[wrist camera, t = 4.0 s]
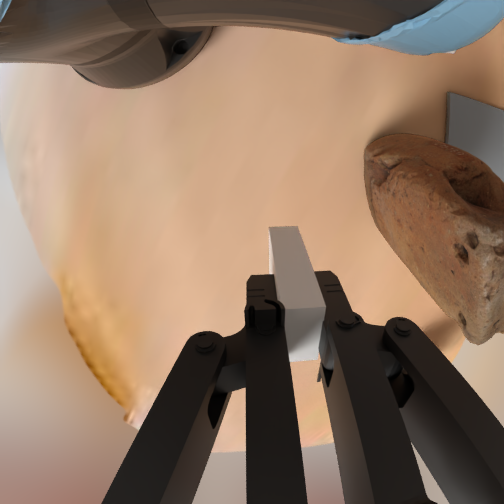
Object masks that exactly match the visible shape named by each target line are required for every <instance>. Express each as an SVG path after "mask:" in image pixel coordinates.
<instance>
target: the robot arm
mask: <svg viewBox="0 0 504 504" xmlns="http://www.w3.org/2000/svg"><path fill="white" fill-rule="evenodd" d="M503 18H504V0H0V63H50V64H65V65H70V66H72V67H73V69H74V70H75V71H76V72H77V73H78V74H79V75H80V76H81V77H83V78H84V79H85V80H87V81H89V82H91V83H93V84H96V85H98V86H102V87H106V88H115V89H134V88H141V87H145V86H149V85H152V84H155V83H158V82H160V81H162V80H164V79H166V78H168V77H170V76H172V75H173V74H175V73H176V72H178V71H179V70H181V69H182V68H183V67H185V66H186V65H187V64H188V63H189V62H190V61H191V60H192V59H193V58H194V57H195V56H196V55H197V54H198V53H199V51H200V50H201V49H202V47H203V46H204V44H205V43H206V41H207V39H208V38H209V36H210V34H211V31H212V29H213V26H246V27H261V28H273V29H282V30H290V31H298V32H304V33H311V34H316V35H322V36H327V37H331V38H333V39H335V40H336V41H338V42H342V43H346V44H356V45H362V44H370V45H375V46H379V47H383V48H387V49H391V50H394V51H398V52H402V53H406V54H411V55H429V54H432V53H445V52H451V51H455V50H457V49H460V48H462V47H464V46H467V45H469V44H471V43H473V42H475V41H477V40H478V39H480V38H482V37H483V36H484V35H486V34H487V33H488V32H490V31H491V30H492V29H493V28H494V27H495V26H496V25H497V24H498V23H499V22H500V21H501V20H502V19H503ZM244 313H245V326H244V328H243V329H242V330H241V331H239V332H238V333H236V334H234V335H231V336H227V337H224V338H223V337H222V336H221V335H220V334H218V333H215V332H212V331H203V332H199V333H196V334H194V335H193V336H191V337H190V338H189V339H188V340H187V342H186V344H185V346H184V347H183V349H182V351H181V353H180V355H179V357H178V358H177V360H176V362H175V364H174V366H173V368H172V370H171V371H170V373H169V375H168V377H167V379H166V381H165V383H164V385H163V386H162V388H161V390H160V392H159V394H158V396H157V398H156V400H155V401H154V403H153V405H152V407H151V409H150V411H149V413H148V415H147V417H146V418H145V420H144V422H143V424H142V426H141V428H140V430H139V432H138V434H137V436H136V438H135V440H134V441H133V443H132V445H131V447H130V449H129V451H128V453H127V455H126V457H125V459H124V461H123V463H122V464H121V466H120V468H119V470H118V472H117V474H116V477H115V478H114V480H113V482H112V484H111V486H110V488H109V490H108V492H107V494H106V496H105V498H104V500H103V502H102V504H192V502H193V499H194V496H195V494H196V491H197V488H198V486H199V483H200V480H201V478H202V475H203V472H204V470H205V467H206V464H207V461H208V459H209V456H210V453H211V450H212V448H213V445H214V442H215V439H216V437H217V434H218V431H219V428H220V425H221V422H222V420H223V417H224V414H225V411H226V408H227V405H228V402H229V399H230V397H231V394H232V391H235V390H238V389H242V388H245V387H246V493H247V504H308V503H307V493H306V485H305V476H304V467H303V460H302V451H301V443H300V435H299V427H298V419H297V411H296V404H295V396H294V389H293V382H292V375H291V368H290V362H295V361H308V360H317V359H318V353H320V357H321V363H320V368H319V373H318V378H317V382H320V380H321V379H322V383H323V388H324V393H325V397H326V402H327V407H328V412H329V417H330V422H331V427H332V432H333V438H334V443H335V448H336V454H337V459H338V465H339V470H340V476H341V482H342V488H343V494H344V500H345V504H437V503H436V502H433V501H431V500H430V499H429V498H428V497H427V495H426V492H425V488H424V484H423V481H422V477H421V474H420V470H419V467H418V464H417V460H416V457H415V454H414V451H413V448H412V445H411V442H412V444H413V445H414V447H415V448H416V450H417V452H418V453H419V455H420V456H421V458H422V460H423V461H424V463H425V464H426V466H427V467H428V469H429V471H430V472H431V474H432V476H433V477H434V479H435V480H436V482H437V484H438V485H439V487H440V488H441V490H442V492H443V493H444V495H445V497H446V498H447V500H448V502H449V503H450V504H504V428H503V426H502V425H501V424H500V422H499V421H498V420H497V418H496V417H495V416H494V414H493V413H492V412H491V411H490V409H489V408H488V407H487V406H486V404H485V403H484V402H483V401H482V399H481V398H480V397H479V396H478V394H477V393H476V392H475V391H474V390H473V388H472V387H471V386H470V385H469V383H468V382H467V381H466V380H465V379H464V378H463V376H462V375H461V374H460V373H459V372H458V371H457V369H456V368H455V367H454V366H453V365H452V364H451V362H450V361H449V360H448V359H447V358H446V357H445V356H444V355H443V353H442V352H441V351H440V350H439V349H438V348H437V347H436V346H435V344H434V343H433V342H432V341H431V340H430V339H429V338H428V337H427V336H426V335H425V334H424V332H423V331H422V330H421V329H420V328H419V327H418V326H417V325H416V324H415V323H414V322H412V321H411V320H409V319H407V318H403V317H395V318H391V319H390V320H388V321H387V323H386V325H385V326H378V325H371V324H367V323H365V322H364V320H363V319H362V317H361V316H360V315H358V314H357V313H355V312H353V311H352V309H351V306H350V304H349V302H348V299H347V297H346V295H345V293H344V291H343V288H342V286H341V284H340V281H339V279H338V277H337V276H336V275H335V274H333V273H332V272H331V271H315V272H314V270H313V267H312V265H311V262H310V259H309V256H308V253H307V251H306V248H305V245H304V242H303V240H302V237H301V234H300V232H299V229H298V226H285V227H269V274H267V275H251V276H250V278H249V279H248V281H247V304H246V307H245V310H244Z"/></svg>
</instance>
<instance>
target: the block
mask: <svg viewBox="0 0 504 504" xmlns="http://www.w3.org/2000/svg"><path fill="white" fill-rule="evenodd" d="M364 180H365V187H366V194H367V199H368V203H369V207H370V211H371V214H372V217H373V219H374V222H375V224H376V226H377V228H378V229H379V231H380V232H381V234H382V235H383V237H384V238H385V240H386V241H387V242H388V244H389V245H390V246H391V248H392V249H393V250H394V252H395V253H396V254H397V255H398V257H399V258H400V259H401V260H402V262H403V263H404V264H405V265H406V266H407V267H408V268H409V270H410V271H411V272H412V274H413V275H414V276H415V277H416V279H417V280H418V281H419V283H420V284H421V286H422V287H423V288H424V289H425V290H426V291H427V293H428V294H429V295H430V296H431V297H432V299H434V301H435V302H436V303H437V305H438V306H439V307H440V308H441V309H442V310H443V312H444V313H445V314H446V315H448V316H449V317H451V318H452V319H454V320H455V321H456V322H457V323H458V324H459V326H460V327H461V329H462V331H463V333H464V336H465V337H466V338H467V339H468V340H469V342H470V343H473V344H477V345H480V344H483V343H484V342H486V341H488V340H489V339H490V338H492V336H493V335H494V334H495V333H498V332H499V333H502V334H504V182H503V181H502V180H501V179H500V178H499V177H498V176H497V175H496V174H495V173H494V172H493V171H492V169H491V168H490V167H489V166H488V165H487V164H486V163H484V162H483V161H482V160H480V159H479V158H477V157H475V156H474V155H472V154H470V153H469V152H466V151H464V150H462V149H460V148H457V147H455V146H452V145H449V144H446V143H443V142H441V141H438V140H435V139H432V138H427V137H423V136H419V135H413V134H394V135H388V136H385V137H382V138H379V139H377V140H376V141H374V142H373V143H371V144H370V145H368V146H367V147H366V148H365V150H364Z"/></svg>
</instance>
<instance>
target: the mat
mask: <svg viewBox="0 0 504 504" xmlns="http://www.w3.org/2000/svg"><path fill="white" fill-rule="evenodd" d="M445 143H446V144H449V145H452V146H455V147H457V148H460V149H462V150H464V151H466V152H469V153H470V154H472V155H474V156H475V157H477V158H479V159H480V160H482V161H483V162H484V163H486V164H487V165H488V166H489V167H490V168H491V169H492V171H493V172H494V173H495V174H496V175H497V176H498V177H499V178H500V179H501V180H502V181H503V182H504V111H503V110H501V109H498V108H496V107H493V106H491V105H488V104H485V103H482V102H479V101H477V100H474V99H471V98H468V97H464V96H461V95H458V94H455V93H451V92H447V121H446V137H445Z"/></svg>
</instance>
